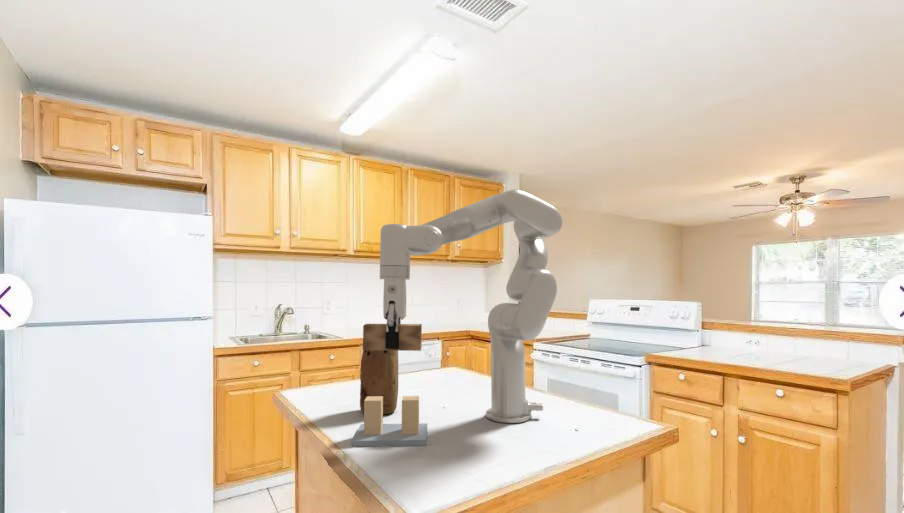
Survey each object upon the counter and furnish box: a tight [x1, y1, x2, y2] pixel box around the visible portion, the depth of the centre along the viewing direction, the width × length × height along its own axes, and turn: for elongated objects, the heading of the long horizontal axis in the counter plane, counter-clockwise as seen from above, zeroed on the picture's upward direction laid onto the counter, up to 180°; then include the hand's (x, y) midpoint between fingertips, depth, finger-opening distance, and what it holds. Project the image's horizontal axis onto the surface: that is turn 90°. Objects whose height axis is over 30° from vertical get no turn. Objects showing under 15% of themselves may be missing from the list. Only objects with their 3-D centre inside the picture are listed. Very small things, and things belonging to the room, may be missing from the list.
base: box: [351, 395, 428, 447], centre depth 108 cm, size 17×12×9 cm
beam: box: [362, 323, 423, 352], centre depth 110 cm, size 14×4×6 cm, turn 91°
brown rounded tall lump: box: [359, 350, 399, 415], centre depth 130 cm, size 11×8×20 cm
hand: (393, 346), depth 110 cm, fingers closed on beam, 4 cm apart
